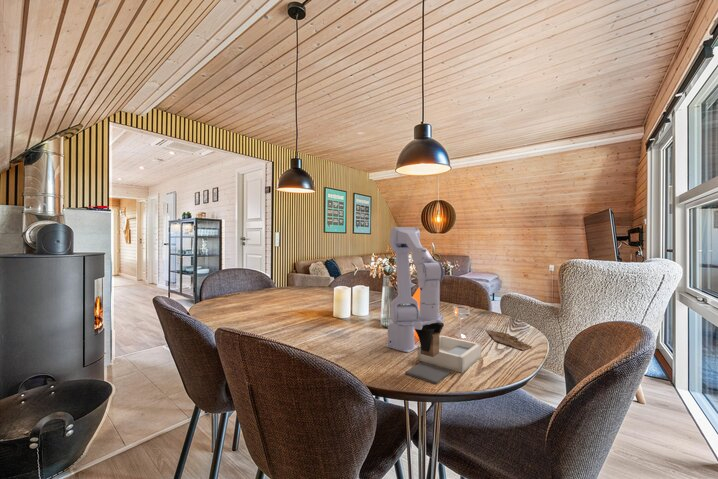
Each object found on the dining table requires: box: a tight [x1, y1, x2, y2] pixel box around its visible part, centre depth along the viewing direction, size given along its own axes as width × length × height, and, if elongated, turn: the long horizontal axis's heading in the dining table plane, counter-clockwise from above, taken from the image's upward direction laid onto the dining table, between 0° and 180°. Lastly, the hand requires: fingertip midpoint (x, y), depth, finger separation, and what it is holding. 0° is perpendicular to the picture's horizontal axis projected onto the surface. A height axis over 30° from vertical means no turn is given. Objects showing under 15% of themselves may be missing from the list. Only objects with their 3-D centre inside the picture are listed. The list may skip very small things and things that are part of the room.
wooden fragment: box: [485, 329, 533, 352], centre depth 127 cm, size 26×11×1 cm, turn 4°
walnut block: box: [421, 332, 439, 357], centre depth 94 cm, size 4×4×6 cm
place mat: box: [404, 361, 453, 385], centre depth 94 cm, size 10×10×1 cm
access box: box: [417, 334, 482, 373], centre depth 106 cm, size 15×16×4 cm
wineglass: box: [452, 304, 471, 339], centre depth 131 cm, size 7×7×12 cm
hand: (429, 348), depth 94 cm, fingers closed on walnut block, 4 cm apart
